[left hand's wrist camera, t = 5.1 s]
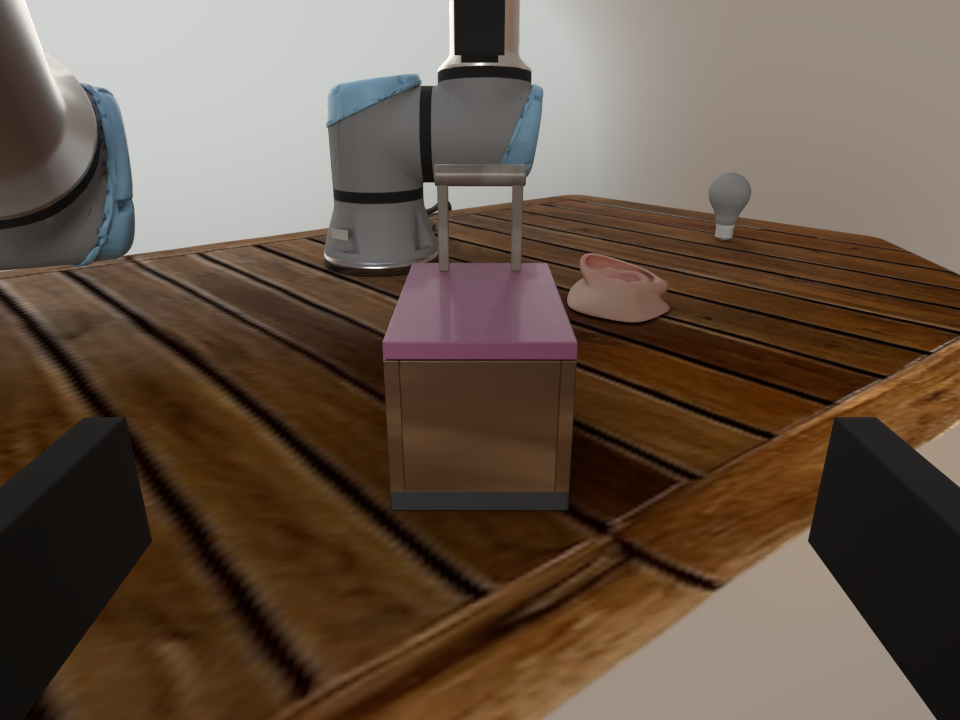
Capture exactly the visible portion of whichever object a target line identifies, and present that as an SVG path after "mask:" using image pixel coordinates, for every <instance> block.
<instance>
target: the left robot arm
mask: <svg viewBox="0 0 960 720" xmlns="http://www.w3.org/2000/svg"><path fill="white" fill-rule="evenodd" d="M132 187H133V185H132V175H131V167H130V159H129V152H128V146H127V140H126V134H125V129H124V124H123V119H122V115H121V111H120V108H119V105H118V103H117V101H116V99H115V98H114V96H113V94H112V93H111V92H110V91H108V90H106V89H104V88H101V87H92V86H90V85H88V84H85V83H79V82H78V80H77V79H76V78H75V76H74V75H73V74H72V73H71V72H70V71H69V70H68V69H67V68H66V67H65V66H63V65H62V64H61V63H60V62H59V61H57V60H56V59H55V58H54V57H52V56H51V55H49V54H48V53H46V52H45V51H43V49H42V47H41V44H40V41H39V38H38V35H37V33H36V30H35V27H34V24H33V21H32V19H31V16H30V13H29V10H28V7H27V4H26V2H25V0H0V271H1V270H13V269H24V268H35V267H46V266H57V265H69V264H71V265H73V266H83V265H88V264H90V263H92V262H95V261H103V260H110V259H116V258H119V257H121V256H123V255H125V254H126V253H127V252H128V251H129V250H130V248H131V246H132V244H133V240H134V233H135V215H134V205H133V201H132V197H133V194H132ZM151 542H152V539H151V534H150V530H149V525H148V520H147V516H146V511H145V506H144V502H143V497H142V492H141V488H140V483H139V478H138V474H137V469H136V464H135V460H134V455H133V450H132V446H131V441H130V436H129V432H128V427H127V422H126V418H125V417H84V418H83V419H82V420H80V421H79V422H78V423H77V424H76V425H74V426H73V427H72V428H71V429H70V430H68V431H67V432H66V433H65V434H64V435H62V436H61V437H60V438H59V439H58V440H56V441H55V442H54V443H53V444H52V445H50V446H49V447H48V448H47V449H46V450H44V451H43V452H42V453H41V454H40V455H39V456H37V457H36V458H35V459H34V460H33V461H31V462H30V463H29V464H28V465H27V466H25V467H24V468H23V469H22V470H21V471H19V472H18V473H17V474H16V475H15V476H13V477H12V478H11V479H10V480H9V481H7V482H6V483H5V484H4V485H3V486H1V487H0V720H23V719H24V718H25V716H26V715H27V714H28V712H29V711H30V709H31V708H32V707H33V705H34V704H35V702H36V701H37V700H38V698H39V697H40V696H41V694H42V693H43V691H44V690H45V689H46V687H47V686H48V684H49V683H50V682H51V680H52V679H53V678H54V676H55V675H56V673H57V672H58V671H59V669H60V668H61V666H62V665H63V664H64V662H65V661H66V660H67V658H68V657H69V655H70V654H71V653H72V651H73V650H74V648H75V647H76V646H77V644H78V643H79V641H80V640H81V639H82V637H83V636H84V635H85V633H86V632H87V630H88V629H89V628H90V626H91V625H92V623H93V622H94V621H95V619H96V618H97V617H98V615H99V614H100V612H101V611H102V610H103V608H104V607H105V605H106V604H107V603H108V601H109V600H110V599H111V597H112V596H113V594H114V593H115V592H116V590H117V589H118V587H119V586H120V585H121V583H122V582H123V581H124V579H125V578H126V576H127V575H128V574H129V572H130V571H131V569H132V568H133V567H134V565H135V564H136V563H137V561H138V560H139V558H140V557H141V556H142V554H143V553H144V551H145V550H146V549H147V547H148V546H149V544H150V543H151ZM808 542H809V543H810V544H811V546H812V547H813V549H814V550H815V551H816V553H817V554H818V556H819V557H820V558H821V560H822V561H823V563H824V564H825V565H826V567H827V568H828V569H829V571H830V572H831V574H832V575H833V576H834V578H835V579H836V581H837V582H838V583H839V585H840V586H841V587H842V589H843V590H844V592H845V593H846V594H847V596H848V597H849V599H850V600H851V601H852V603H853V604H854V605H855V607H856V608H857V610H858V611H859V612H860V614H861V615H862V617H863V618H864V619H865V621H866V622H867V623H868V625H869V626H870V628H871V629H872V630H873V632H874V633H875V635H876V636H877V637H878V639H879V640H880V641H881V643H882V644H883V646H884V647H885V648H886V650H887V651H888V652H889V654H890V655H891V657H892V658H893V659H894V661H895V662H896V664H897V665H898V666H899V668H900V669H901V671H902V672H903V673H904V675H905V676H906V677H907V679H908V680H909V682H910V683H911V684H912V686H913V687H914V688H915V690H916V691H917V693H918V694H919V696H920V697H921V698H922V700H923V701H924V702H925V704H926V705H927V707H928V708H929V709H930V711H931V712H932V714H933V715H934V716H935V718H936V719H937V720H960V487H959V486H957V485H956V484H955V483H954V482H953V481H951V480H950V479H949V478H948V477H947V476H945V475H944V474H943V473H942V472H941V471H939V470H938V469H937V468H936V467H935V466H933V465H932V464H931V463H930V462H929V461H927V460H926V459H925V458H924V457H923V456H921V455H920V454H919V453H918V452H917V451H916V450H914V449H913V448H912V447H911V446H910V445H908V444H907V443H906V442H905V441H904V440H902V439H901V438H900V437H899V436H898V435H896V434H895V433H894V432H893V431H892V430H890V429H889V428H888V427H887V426H886V425H884V424H883V423H882V422H881V421H880V420H878V419H877V418H876V417H835V418H834V422H833V427H832V432H831V436H830V441H829V446H828V450H827V455H826V460H825V464H824V469H823V474H822V478H821V483H820V488H819V492H818V497H817V502H816V506H815V511H814V516H813V520H812V525H811V530H810V534H809V539H808Z"/></svg>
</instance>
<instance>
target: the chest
mask: <svg viewBox="0 0 960 720" xmlns="http://www.w3.org/2000/svg"><path fill="white" fill-rule="evenodd" d="M383 365H384V383H385V401H386V419H387V437H388V455H389V473H390V497H391V510H568V509H569V486H570V468H571V451H572V434H573V417H574V399H575V382H576V365H577V361H576V359H575V360H564V359H384V361H383Z"/></svg>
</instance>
